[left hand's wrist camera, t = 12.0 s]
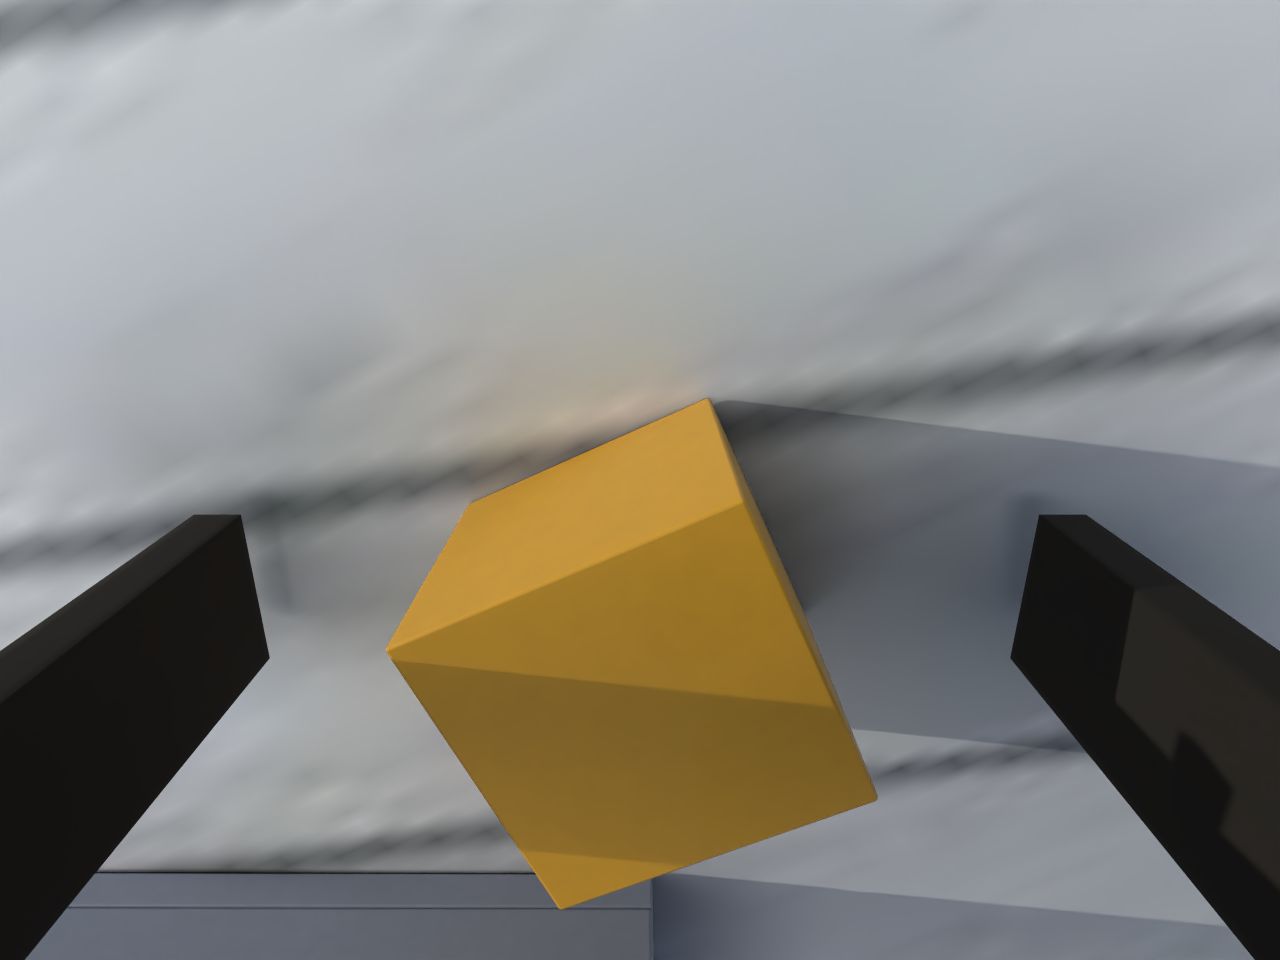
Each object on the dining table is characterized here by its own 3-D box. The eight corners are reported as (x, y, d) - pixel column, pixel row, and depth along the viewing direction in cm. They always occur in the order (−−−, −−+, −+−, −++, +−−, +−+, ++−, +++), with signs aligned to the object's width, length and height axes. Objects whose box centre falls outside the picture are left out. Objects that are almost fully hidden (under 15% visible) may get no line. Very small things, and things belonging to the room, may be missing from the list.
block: (708, 396, 13) (745, 498, 8) (805, 616, 14) (879, 801, 10) (467, 504, 13) (383, 649, 9) (583, 703, 15) (560, 912, 10)
